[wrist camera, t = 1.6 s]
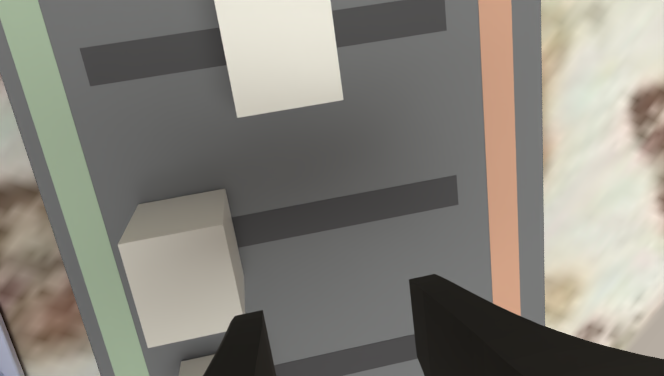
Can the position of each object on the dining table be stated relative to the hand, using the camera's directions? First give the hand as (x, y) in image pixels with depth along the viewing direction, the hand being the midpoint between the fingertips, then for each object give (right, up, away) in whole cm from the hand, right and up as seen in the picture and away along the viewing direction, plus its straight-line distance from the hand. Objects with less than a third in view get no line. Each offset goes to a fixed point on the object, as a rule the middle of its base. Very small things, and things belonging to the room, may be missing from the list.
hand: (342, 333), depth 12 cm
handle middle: (-5, +1, +8) cm, 9 cm away
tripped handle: (-2, +8, +6) cm, 10 cm away
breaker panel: (-1, +3, +10) cm, 10 cm away
